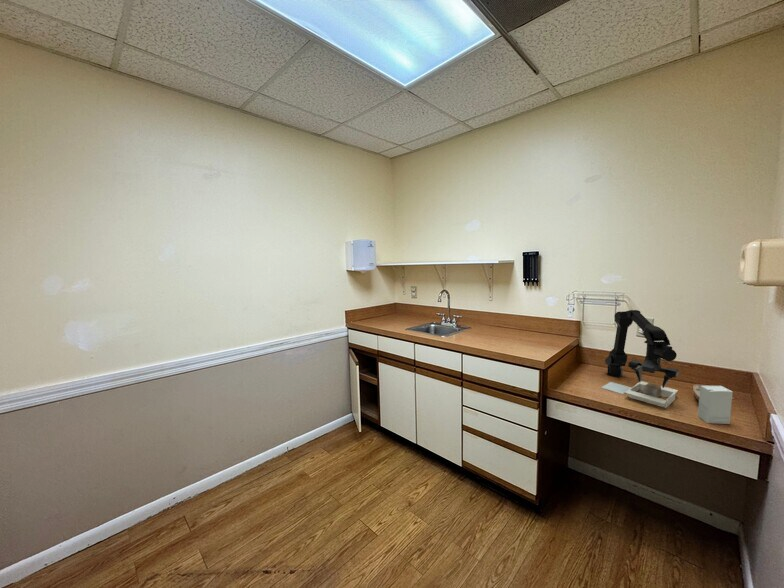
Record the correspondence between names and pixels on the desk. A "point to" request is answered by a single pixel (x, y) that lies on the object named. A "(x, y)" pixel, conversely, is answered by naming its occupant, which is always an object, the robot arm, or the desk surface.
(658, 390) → the box
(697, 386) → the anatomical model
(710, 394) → the skincare box
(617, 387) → the mat
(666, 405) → the white shallow rectangular tray
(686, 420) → the desk surface
